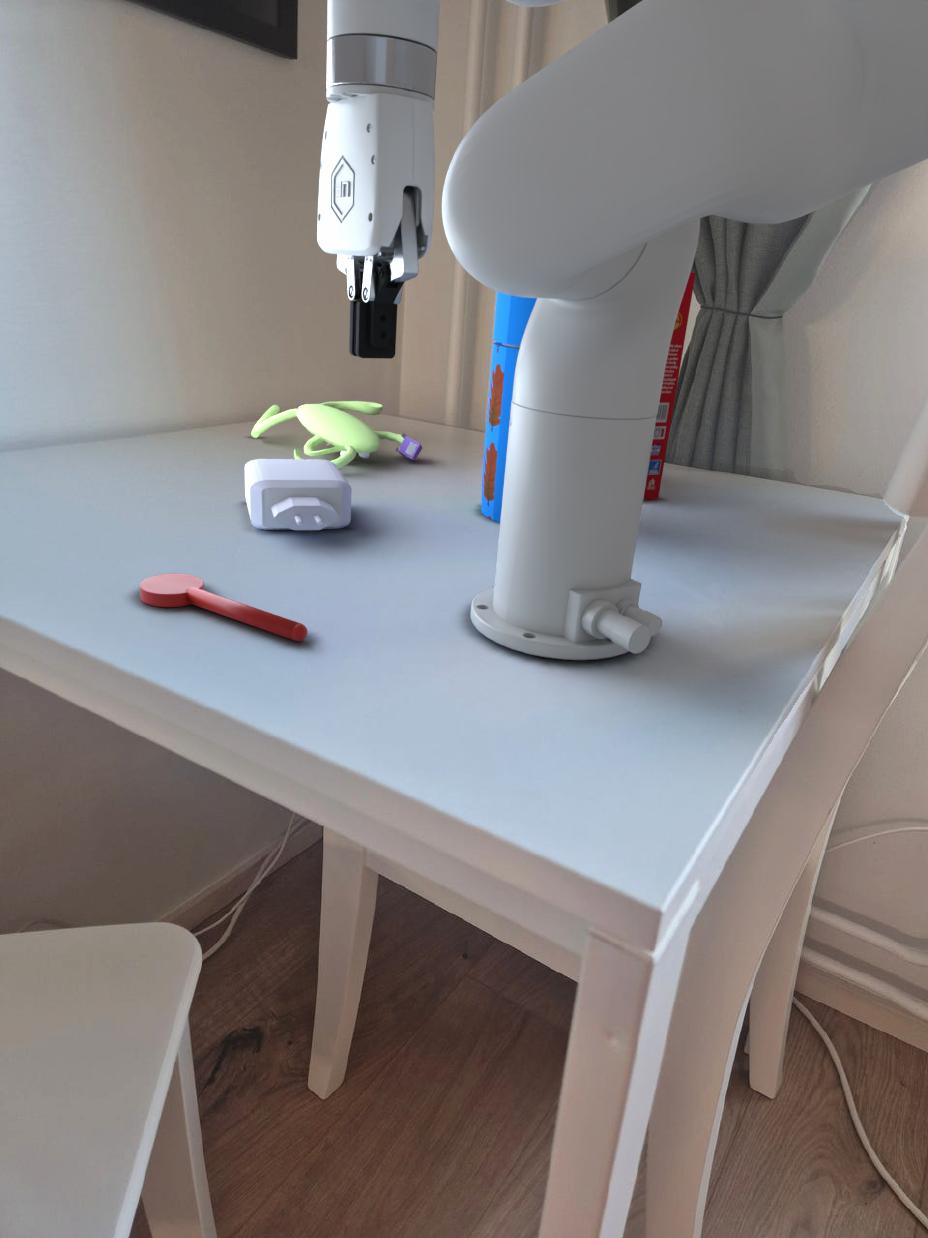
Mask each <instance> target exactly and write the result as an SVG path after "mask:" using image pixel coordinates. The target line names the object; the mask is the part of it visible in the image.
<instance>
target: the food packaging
mask: <svg viewBox="0 0 928 1238" xmlns="http://www.w3.org/2000/svg"><path fill="white" fill-rule="evenodd" d="M696 275H697V273H696V272H690V276H689V279H688V282H687V285H686V288H685V292H684V295H683V298H682V301H681V304H680V308H679V311H678V315H677V318H676V322H675V325H674V330H673V334H672V338H671V342H670V347H669V352H668V357H667V362H666V367H665V372H664V378H663V384H662V390H661V396H660V402H659V408H658V414H657V416H656V423H655V429H654V435H653V442H652V448H651V454H650V461H649V467H648V473H647V479H646V486H645V492H644V498H643V501H647V500H649V501H650V500H659V496H660V490H661V485H662V479H663V473H664V467H665V460H666V456H667V455H666V454H667V449H668V442H669V437H670V431H671V425H672V420H673V419H672V418H673V412H674V408H675V407H674V406H675V400H676V394H677V389H678V382H679V376H680V371H681V366H682V358H683V352H684V347H685V341H686V335H687V329H688V322H689V317H690V311H691V303H692V298H693V292H694V285H695V280H696Z"/></svg>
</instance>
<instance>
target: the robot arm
mask: <svg viewBox="0 0 928 1238" xmlns="http://www.w3.org/2000/svg"><path fill="white" fill-rule="evenodd" d="M505 1H506V2H508V3H510V4H512V5H515V6H520V7H525V8H540V7H542V8H543V7H548V6H552V5H556V4H559V3H563V2H566V1H567V0H505ZM440 11H441V0H327V10H326V12H327V14H326V16H327V17H326V92H325V93H326V94H325V95H326V100H327V102H329V103H328V104H327V109H326V116H325V120H324V121H325V122H324V127H323V136H322V142H321V143H322V144H321V155H320V166H319V181H318V197H317V199H318V200H317V226H316V227H317V228H316V231H317V232H316V239H317V244H318V246H319V248H321V250H322V251H323V252H324V253H326V254H331V255H337V257H336V268H337V269H338V270H339V272H342V273H343V274H344V275H345V276H346V283H347V284H346V285H347V297H348V299H349V300H350V302H349V305H350V306H349V341H348V342H349V344H348V351H349V354H350V355H351V356H353V357H357V358H360V359H384V360H385V359H386V360H387V359H390V360H391V359H394V358H395V356H396V350H397V348H396V346H397V345H396V344H397V328H398V327H397V323H398V305H399V304H400V303H401V301H402V298H403V297H402V295H403V287H404V284H405V282H407V281H410V280H413V279H414V278H417V276H418V275H419V260H420V259H422V258H424V257H425V255H427V254H428V253H429V251H430V249H431V245H432V238H433V229H434V218H435V217H434V215H435V195H436V193H435V192H436V190H435V189H436V187H435V185H436V184H435V183H436V182H435V181H436V151H435V129H434V128H435V127H434V126H435V125H434V115H433V112H434V111H435V105H436V104H435V103H436V102H435V101H436V100H435V99H436V81H437V66H438V65H437V63H438V49H439V30H440ZM926 160H928V0H641V1H639V2H638V3H636V4H635V5H633V6H632V7H630V8H629V9H628V10H626V11H624V12H623V13H621V14H620V15H619V16H617V17H615V18H614V19H613V20H611V21H609V23H607V24H605V25H604V26H603V27H601V28H600V29H598V30H597V31H596V32H594V33H592V34H591V35H590V36H588V37H587V38H585V39H584V40H582V41H581V42H579V43H578V44H577V45H575V46H573V47H572V48H570V49H569V50H568V51H567V52H565V53H563V54H562V55H560V56H559V57H557V58H556V59H555V60H553V61H552V62H550V63H549V64H548V65H546V66H545V67H543V68H541V69H540V70H539V71H537V72H536V73H534V74H533V75H532V76H530V77H528V78H527V79H526V80H524V81H522V82H521V83H520V84H519V85H517V86H515V87H514V88H513V89H511V90H510V91H509V92H507V93H506V94H504V95H503V96H501V98H499V99H498V100H497V101H495V103H493V104H492V105H491V106H490V107H489V108H487V110H486V111H485V112H484V113H482V114H481V116H479V118H478V119H476V121H475V122H474V123H473V124H472V126H471V127H470V128H469V130H468V131H467V132H466V133H465V135H464V136H463V138H462V140H461V141H460V143H459V144H458V146H457V147H456V150H455V152H454V154H453V157H452V159H451V161H450V163H449V166H448V169H447V172H446V174H445V178H444V184H443V188H442V194H441V195H442V196H441V219H442V226H443V230H444V234H445V237H446V240H447V243H448V246H449V248H450V251H451V253H452V254H453V255H454V257H455V259H456V261H458V263H459V265H460V266H461V267H462V268H463V269H464V270H465V271H466V272H467V273H468V274H469V275H470V276H471V277H472V278H474V279H475V280H476V281H477V282H478V283H480V284H481V285H483V286H485V287H487V288H488V289H490V290H493V291H495V292H496V293H497V292H500V293H504V294H507V295H512V296H517V297H526V298H537V300H536V303H535V305H534V308H533V310H532V313H531V315H530V318H529V321H528V323H527V326H526V329H525V332H524V335H523V338H522V341H521V345H520V349H519V353H518V358H517V363H516V368H515V376H514V385H513V396H512V401H511V412H510V423H509V434H508V445H507V456H506V466H505V477H504V488H503V499H502V510H501V521H500V522H499V533H498V543H497V555H496V566H495V574H494V575H495V576H494V585H492V586H489V587H487V588H485V589H483V590H481V591H480V592H479V593H477V594H476V595H475V596H474V597H473V599H472V601H471V605H470V606H471V607H470V620H471V623H472V625H473V626H474V627H475V629H476V630H477V631H478V632H479V633H480V634H482V635H483V636H484V637H486V638H488V640H491V641H492V642H494V643H496V644H498V645H500V646H504V647H506V648H508V649H511V650H514V651H517V652H520V653H524V654H527V655H532V656H537V657H542V658H547V659H556V660H565V661H566V660H567V661H589V660H590V661H593V660H602V659H608V658H615V657H617V656H622V655H625V654H627V653H629V652H630V653H632V654H633V655H637V654H640V653H642V652H643V651H645V650H646V649H647V648H648V646H649V645H650V642H651V638H652V637H655V636H656V635H658V634H659V633H660V631H661V630H662V627H663V619H662V618H661V617H660V616H658V615H656V614H654V613H652V612H650V611H648V610H644V609H641V608H640V605H639V601H640V596H641V589H642V582H639V581H637V580H634V579H632V573H633V566H634V562H635V561H634V560H635V554H636V547H637V542H638V535H639V530H640V523H641V517H642V511H643V503H644V500H643V498H644V492H645V486H646V479H647V473H648V467H649V461H650V454H651V448H652V442H653V435H654V429H655V423H656V416H657V414H658V408H659V402H660V396H661V390H662V384H663V378H664V372H665V367H666V362H667V357H668V352H669V347H670V342H671V338H672V334H673V330H674V325H675V322H676V318H677V315H678V311H679V308H680V304H681V301H682V298H683V295H684V292H685V288H686V285H687V282H688V279H689V276H690V272H691V271H692V268H693V265H694V260H695V257H696V253H697V250H698V249H697V248H698V245H699V244H698V243H699V237H700V230H701V219H702V218H705V217H708V216H717V217H720V218H725V219H728V220H732V221H736V222H741V223H747V224H753V225H754V224H755V225H777V224H782V223H786V222H790V221H792V220H793V221H794V220H797V219H799V218H802V217H804V216H806V215H808V214H811V213H813V212H815V211H817V210H819V209H822V208H823V207H826V206H827V205H829V204H831V203H833V202H836V201H837V200H840V199H841V198H843V197H846V196H847V195H850V194H852V193H854V192H856V191H858V190H860V189H863V188H865V187H867V186H869V185H872V184H874V183H877V182H879V181H881V180H883V179H885V178H888V177H890V176H893V175H895V174H897V173H899V172H901V171H904V170H906V169H908V168H910V167H913V166H915V165H917V164H919V163H921V162H925V161H926Z"/></svg>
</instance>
